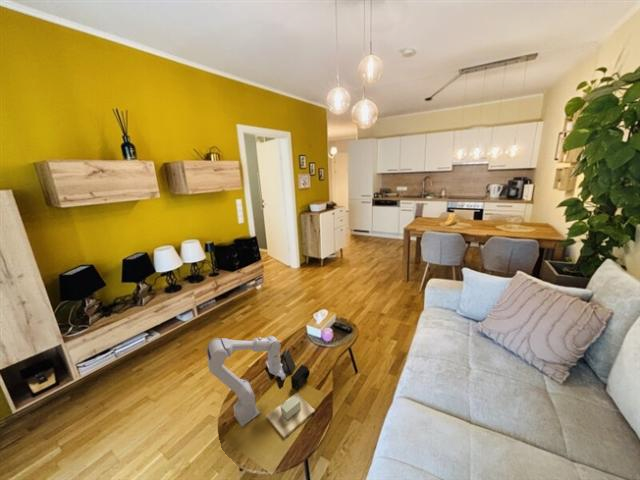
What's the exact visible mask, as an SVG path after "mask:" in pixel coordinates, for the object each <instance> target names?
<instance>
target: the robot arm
mask: <svg viewBox="0 0 640 480" xmlns="http://www.w3.org/2000/svg"><path fill="white" fill-rule="evenodd" d="M281 347H282V345H281V343H280V341H279V340H278V339H277V337H275V336H274V335H268V336H267V337H261V336H258V337H254V338H253V339H252V340H240V339H239V340H238V339H230V338H226V337H224V338H223V337H222V338H218V337H216V338H213V339H212V340H210V342H208V345H207V347H206V354H207V355H206V356H207V358H206V359H207V367H208V371H209V373H210V374H211V375H213V376H214V377H215V378H217V379H218V380H219V381H220V382H222V384H224V385H225V386H227V387H228V388H229V389H230V390H231V391H233V392H234V394H235V395H236V396H237V398H238V399H237V402H236V403H234V404H233V407H232V408H233V414H234V415H233V417H234V418H235V419H236V420H237V422H238V424H239V425H240V427H244V426H245V425H246V424H248V423H249V422H251V420H253V419H255V418H257V416H258V415H260V414H261V413H260V411H259V409H258V408H257V406H256V394H255V393H254V391H253V389H252V386H251V384H250V382H249V381H248V380H246V379H243V378H239V377H238V376H237V375H236V374H234V373H233V372H232V371H231V370H230V369H229V368H228V367H226V365H224V363H225V361H226V360H227V359H228V357H229V358H230V357H231V356H232V354H233V353H234V352H235V351H246V350H251V351H253V353H255V352H256V353H257V352H267V360H266V361H264V362H265V365H266V367H265V368H264V370H265V372H266V374H267V375H268V378H269V380H270V381H273V379H274V381H276V384H277V386H278V387H277V388H278V389H279V390H281V389H282V388H284V384H285V380H286V378H287V377H288V374H287V373H284V372H283V369H282V366H283V364H281V355H280V350H281V349H282V348H281ZM275 376H276V377H275Z"/></svg>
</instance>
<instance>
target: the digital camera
mask: <svg viewBox="0 0 640 480" xmlns="http://www.w3.org/2000/svg"><path fill="white" fill-rule="evenodd" d="M310 373H311V371H310V369H309V367H308V366H306V365H303V364H301V365H300V366H299V367H298V368H297V370H295V371H294V372H293V374H292V375H291V377H290V379H291V380H290V383H291V389H294V390H296V391H298V392H299V391H300V390H301V388H302V387H303V385H305V382H307V380H308V378H309V377H310Z"/></svg>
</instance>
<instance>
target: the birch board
mask: <svg viewBox="0 0 640 480" xmlns="http://www.w3.org/2000/svg"><path fill="white" fill-rule="evenodd" d="M294 396H295V397H296V398H297V399H298V400H299V401H300V405H301V410H300V411H299V412H298V413H296V414H295V415H294V416H293V417H292V418H290V419H289V420H288V421H287V420H286V419H285V418H284V417H283V416H282V414H281V406H282V405H283V404H284V403H286V402H287V401H288V400H290V399H291V398H292V397H294ZM315 412H316V410H315V409H314V408H313V407H312V405H310V404H309V403H308V402H307V401H306V400H305V399H304V398H303V397H302V396H301V395H299V393H298V392H295V393H294V394H293V395H292V396H290V397H289V398H288V399H286V400H284V402H282V403H281V404H279V406H277V407H276V408H274V409H273V410H272V411H271V412H269V413H268V414H267V415H265V416H266V419H267V420H268V421H269V423H270V424H271V425H272V426H273V427H274V429H275V430H276V431H277V433H279V434H280V437H282V438H283V439H286V438H287V437H288V436H289V435H290V434H292V433H293V432H294V431H295V430H296V429H297V428H298V427H299V426H301V425H302V424H303V423H304V422H305V421H306V420H308V419H309V418H310V417H311V416H312V415H313V414H314V413H315ZM312 413H313V414H312ZM311 414H312V415H311ZM310 415H311V416H310ZM309 416H310V417H309ZM308 417H309V418H308Z"/></svg>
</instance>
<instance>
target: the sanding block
mask: <svg viewBox="0 0 640 480" xmlns="http://www.w3.org/2000/svg"><path fill="white" fill-rule="evenodd" d="M291 397H292V396H291ZM287 400H288V399H287ZM283 403H284V402H283ZM300 410H301V405H300V401H299V400H298V399H297V398H296V397H295V396H294V397H292V398H291V399H290V400H288V401H287V402H286V403H284V404H283V405H282V406H281V414H282V416H283V417H284V418H285V419H286V420H287V421H288V420H289V419H290V418H292V417H293V416H294V415H295V414H296V413H298V412H299V411H300Z"/></svg>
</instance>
